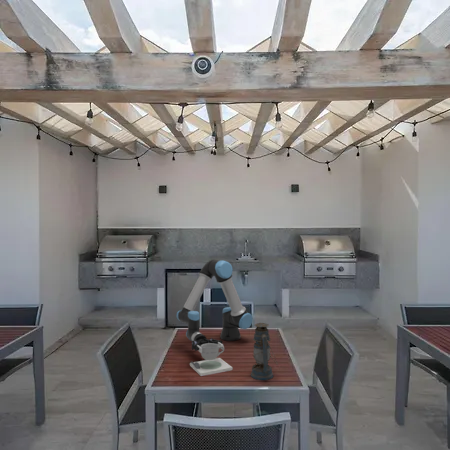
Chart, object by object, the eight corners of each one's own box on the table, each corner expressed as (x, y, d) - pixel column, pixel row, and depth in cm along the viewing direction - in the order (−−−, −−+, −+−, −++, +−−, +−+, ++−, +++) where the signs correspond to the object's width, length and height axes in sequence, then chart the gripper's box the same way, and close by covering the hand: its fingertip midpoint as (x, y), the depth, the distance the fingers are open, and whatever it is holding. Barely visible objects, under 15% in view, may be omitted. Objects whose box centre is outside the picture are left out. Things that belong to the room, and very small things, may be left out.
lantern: (247, 369, 225) (246, 319, 225) (270, 368, 227) (270, 317, 227) (255, 383, 206) (254, 327, 206) (280, 381, 208) (280, 326, 208)
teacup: (199, 361, 222) (199, 347, 222) (202, 355, 233) (202, 341, 233) (222, 362, 220) (222, 348, 220) (225, 356, 231) (225, 342, 231)
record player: (219, 360, 241) (219, 353, 241) (232, 370, 225) (232, 363, 225) (189, 365, 233) (189, 358, 233) (200, 376, 216) (200, 369, 216)
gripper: (216, 342, 250) (231, 352, 231) (180, 347, 239) (192, 358, 220) (216, 331, 250) (231, 339, 231) (180, 335, 239) (192, 345, 220)
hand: (212, 349), depth 225 cm, fingers closed on teacup, 13 cm apart
